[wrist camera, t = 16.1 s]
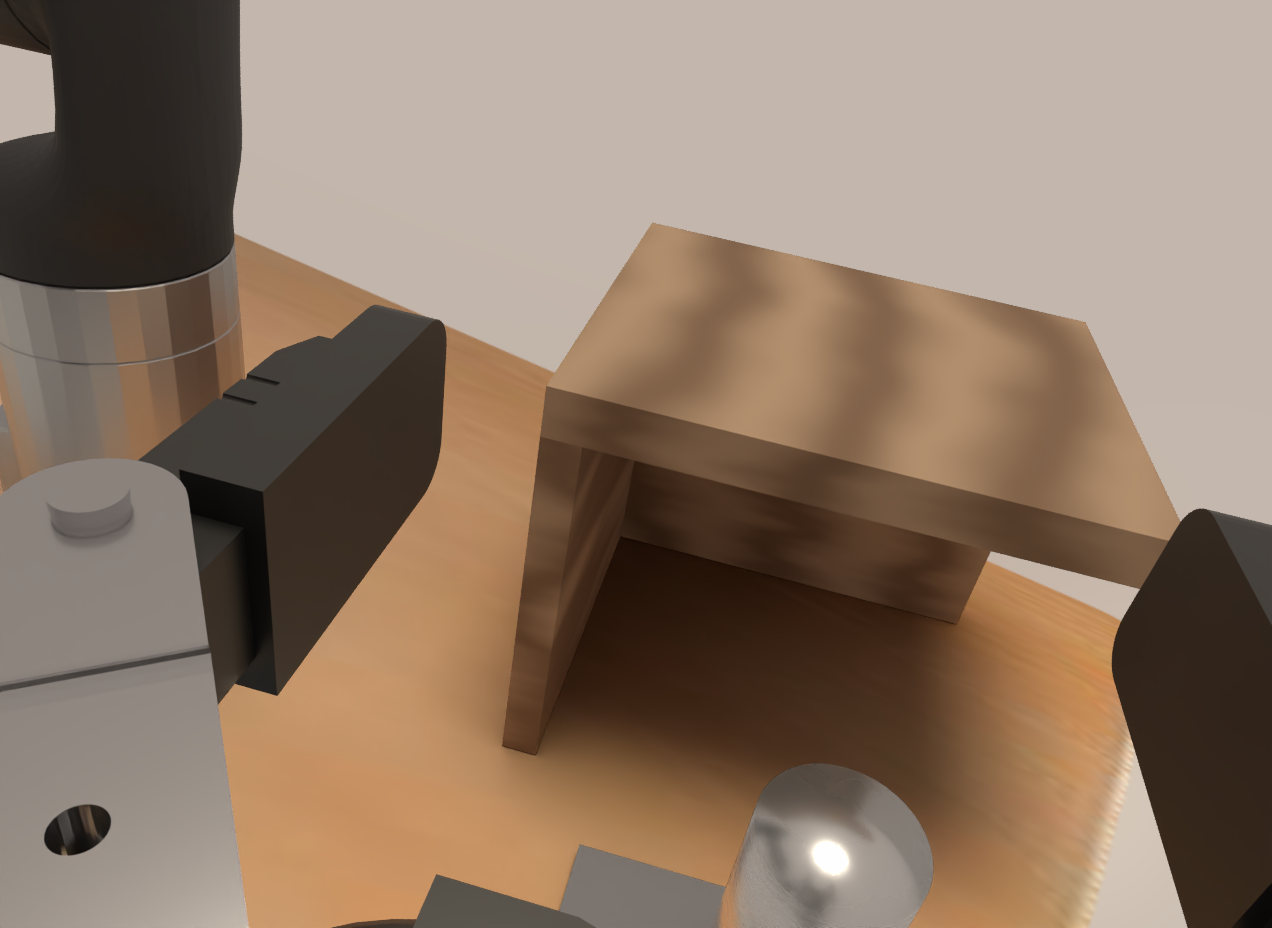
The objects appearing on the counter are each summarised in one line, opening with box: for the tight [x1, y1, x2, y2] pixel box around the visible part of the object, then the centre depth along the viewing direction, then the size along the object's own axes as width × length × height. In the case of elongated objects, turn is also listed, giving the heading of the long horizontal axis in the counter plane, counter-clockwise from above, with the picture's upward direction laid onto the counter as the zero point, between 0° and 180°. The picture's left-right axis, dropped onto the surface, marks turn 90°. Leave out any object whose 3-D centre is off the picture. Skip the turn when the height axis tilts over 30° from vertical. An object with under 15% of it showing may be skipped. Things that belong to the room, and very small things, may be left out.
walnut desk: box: [502, 223, 1180, 755], centre depth 43 cm, size 21×18×18 cm
